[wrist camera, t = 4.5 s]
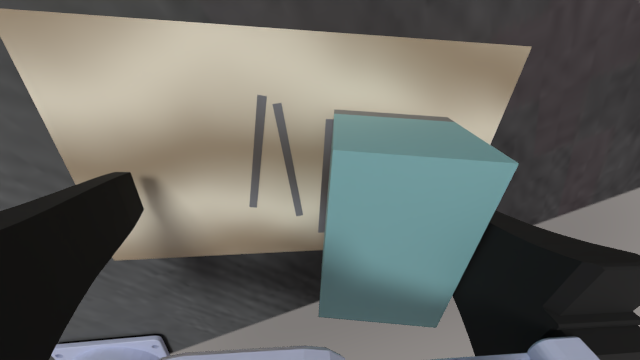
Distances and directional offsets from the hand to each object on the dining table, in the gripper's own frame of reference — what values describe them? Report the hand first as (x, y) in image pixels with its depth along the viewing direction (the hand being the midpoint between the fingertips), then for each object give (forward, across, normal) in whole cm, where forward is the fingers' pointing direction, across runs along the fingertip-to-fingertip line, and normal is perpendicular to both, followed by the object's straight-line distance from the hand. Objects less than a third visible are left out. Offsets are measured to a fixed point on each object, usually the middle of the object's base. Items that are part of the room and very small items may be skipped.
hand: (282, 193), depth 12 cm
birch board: (+3, -1, -1) cm, 3 cm away
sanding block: (+1, -5, 0) cm, 5 cm away
